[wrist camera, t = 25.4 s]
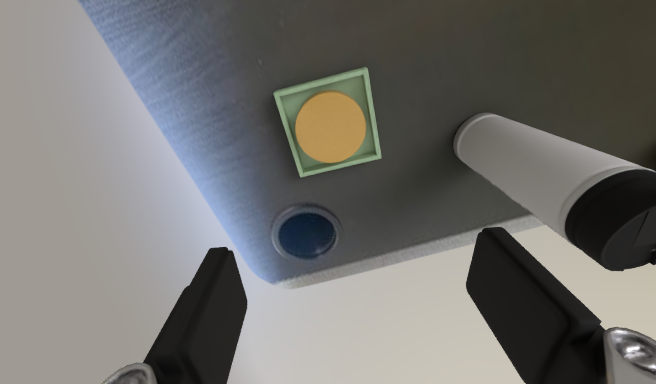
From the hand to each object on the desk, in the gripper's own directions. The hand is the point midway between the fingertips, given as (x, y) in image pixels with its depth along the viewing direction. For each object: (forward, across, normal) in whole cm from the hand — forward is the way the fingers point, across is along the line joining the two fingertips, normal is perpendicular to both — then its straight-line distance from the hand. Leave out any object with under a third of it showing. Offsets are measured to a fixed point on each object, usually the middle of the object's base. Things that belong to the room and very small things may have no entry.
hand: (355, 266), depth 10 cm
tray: (+23, 0, 0) cm, 23 cm away
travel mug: (+24, -18, +3) cm, 30 cm away
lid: (+21, 0, 0) cm, 21 cm away
